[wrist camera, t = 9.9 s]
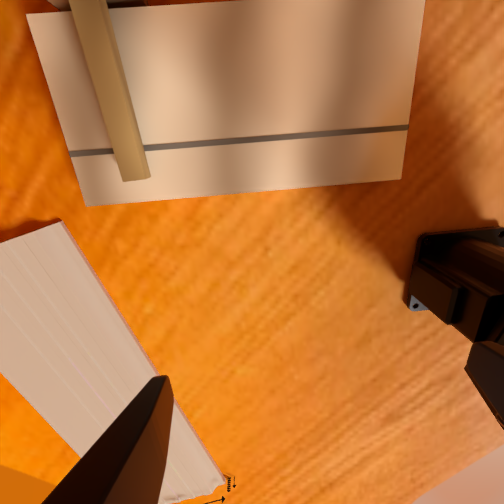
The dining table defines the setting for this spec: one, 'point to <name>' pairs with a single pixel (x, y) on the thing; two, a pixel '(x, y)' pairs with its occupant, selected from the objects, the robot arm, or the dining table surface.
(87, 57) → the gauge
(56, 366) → the baseboard molding
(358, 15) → the board
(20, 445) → the dining table surface
